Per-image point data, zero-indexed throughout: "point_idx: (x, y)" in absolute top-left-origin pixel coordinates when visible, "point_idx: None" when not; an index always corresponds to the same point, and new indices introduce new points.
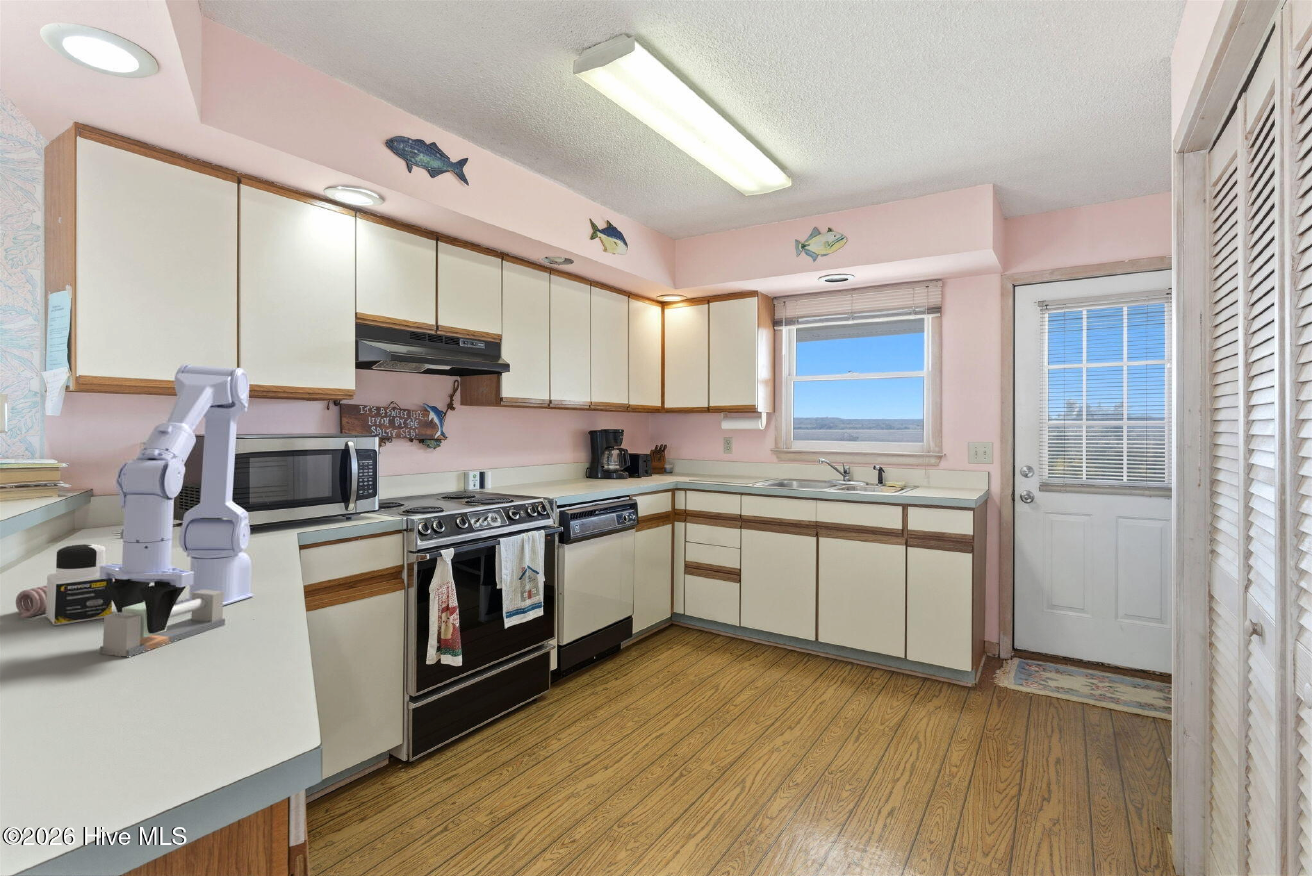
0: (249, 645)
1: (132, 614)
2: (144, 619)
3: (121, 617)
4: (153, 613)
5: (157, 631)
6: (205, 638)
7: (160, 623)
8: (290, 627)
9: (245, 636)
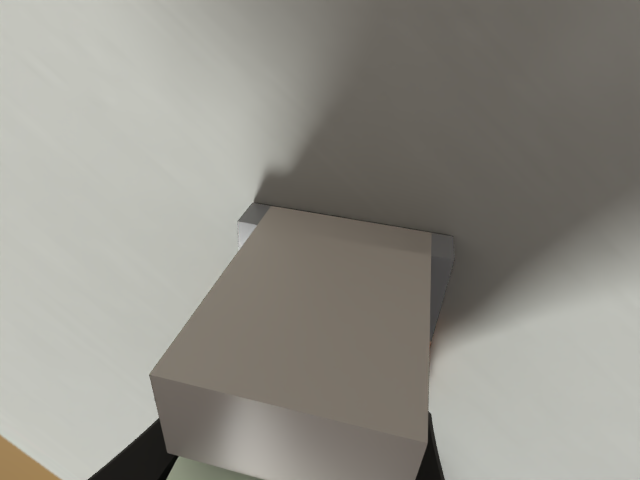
0: (3, 355)
1: (238, 465)
2: None
3: (230, 403)
4: (107, 465)
5: None
6: None
7: None
8: (71, 477)
9: (99, 423)
